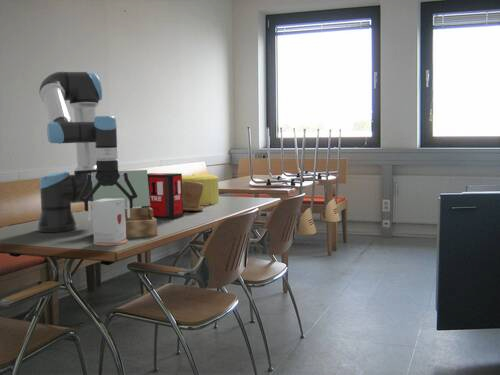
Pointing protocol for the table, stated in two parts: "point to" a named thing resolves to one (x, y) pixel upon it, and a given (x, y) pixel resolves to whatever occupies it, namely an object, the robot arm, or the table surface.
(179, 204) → the cleaning product box
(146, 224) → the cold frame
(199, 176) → the cheese
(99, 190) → the sage green board
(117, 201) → the supplement box
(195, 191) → the brown tapered block
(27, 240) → the table surface
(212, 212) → the table surface
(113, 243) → the tan round disc
